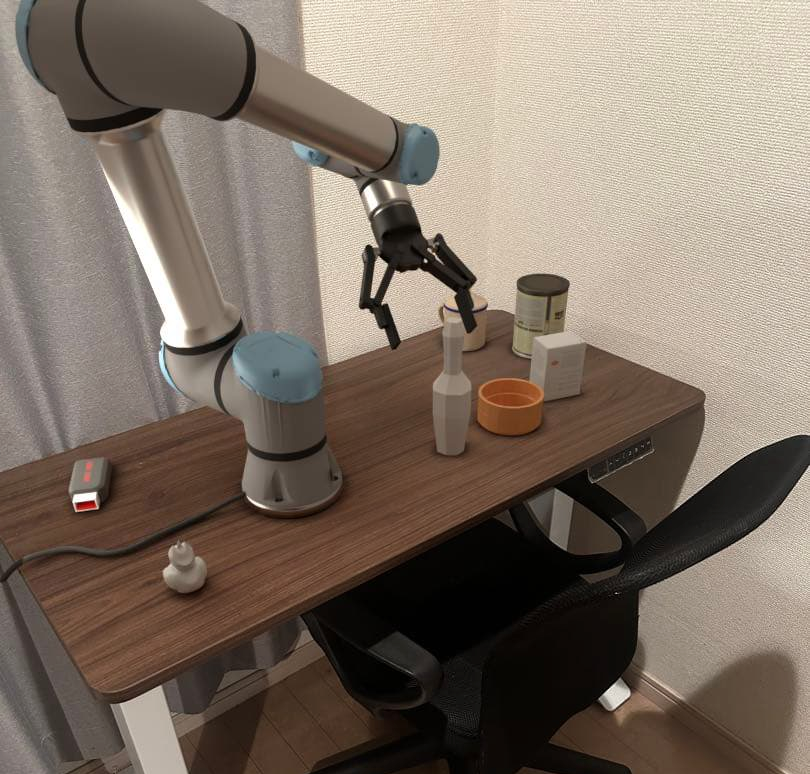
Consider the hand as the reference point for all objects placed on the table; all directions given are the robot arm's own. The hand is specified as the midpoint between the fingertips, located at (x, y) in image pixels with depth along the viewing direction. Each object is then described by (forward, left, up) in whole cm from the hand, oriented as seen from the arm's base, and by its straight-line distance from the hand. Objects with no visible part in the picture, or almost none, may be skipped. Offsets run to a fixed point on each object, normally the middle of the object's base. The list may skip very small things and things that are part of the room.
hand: (435, 338), depth 119 cm
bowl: (+13, -5, -17) cm, 22 cm away
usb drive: (-53, +18, -17) cm, 59 cm away
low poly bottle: (-1, -6, -17) cm, 18 cm away
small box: (+27, -2, -17) cm, 32 cm away
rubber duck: (-50, -12, -17) cm, 54 cm away
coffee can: (+38, +14, -17) cm, 44 cm away
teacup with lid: (+28, +27, -17) cm, 42 cm away
